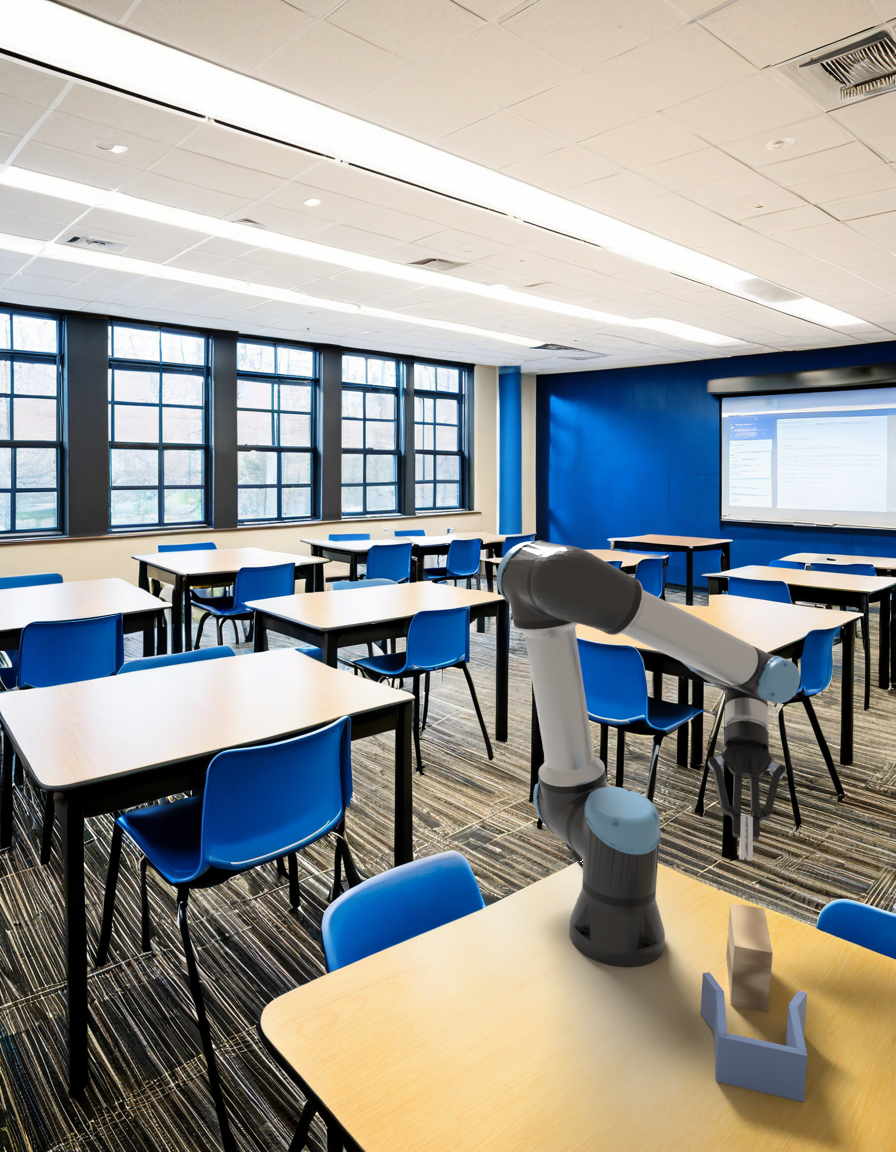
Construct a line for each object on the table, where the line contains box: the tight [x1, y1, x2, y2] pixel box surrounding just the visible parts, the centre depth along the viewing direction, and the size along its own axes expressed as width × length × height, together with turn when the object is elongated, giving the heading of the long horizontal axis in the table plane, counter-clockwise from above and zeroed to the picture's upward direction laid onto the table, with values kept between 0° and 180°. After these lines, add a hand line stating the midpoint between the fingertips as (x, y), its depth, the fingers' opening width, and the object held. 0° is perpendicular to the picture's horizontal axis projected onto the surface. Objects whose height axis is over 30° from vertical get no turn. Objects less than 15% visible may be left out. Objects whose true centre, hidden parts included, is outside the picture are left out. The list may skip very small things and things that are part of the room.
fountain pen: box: [564, 842, 583, 868], centre depth 152 cm, size 14×1×2 cm, turn 10°
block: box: [725, 902, 774, 1013], centre depth 114 cm, size 5×12×9 cm, turn 163°
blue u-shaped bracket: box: [699, 971, 808, 1103], centre depth 99 cm, size 13×13×6 cm
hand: (746, 856), depth 126 cm, fingers closed
